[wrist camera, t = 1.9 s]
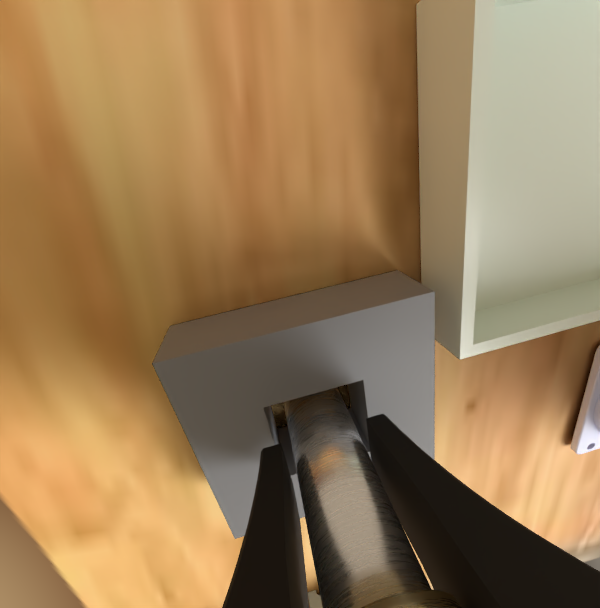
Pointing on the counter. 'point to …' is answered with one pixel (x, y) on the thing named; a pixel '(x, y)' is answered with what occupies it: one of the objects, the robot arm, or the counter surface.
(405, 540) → the steel pin
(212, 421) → the pin block
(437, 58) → the tray
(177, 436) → the counter surface
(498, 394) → the counter surface
